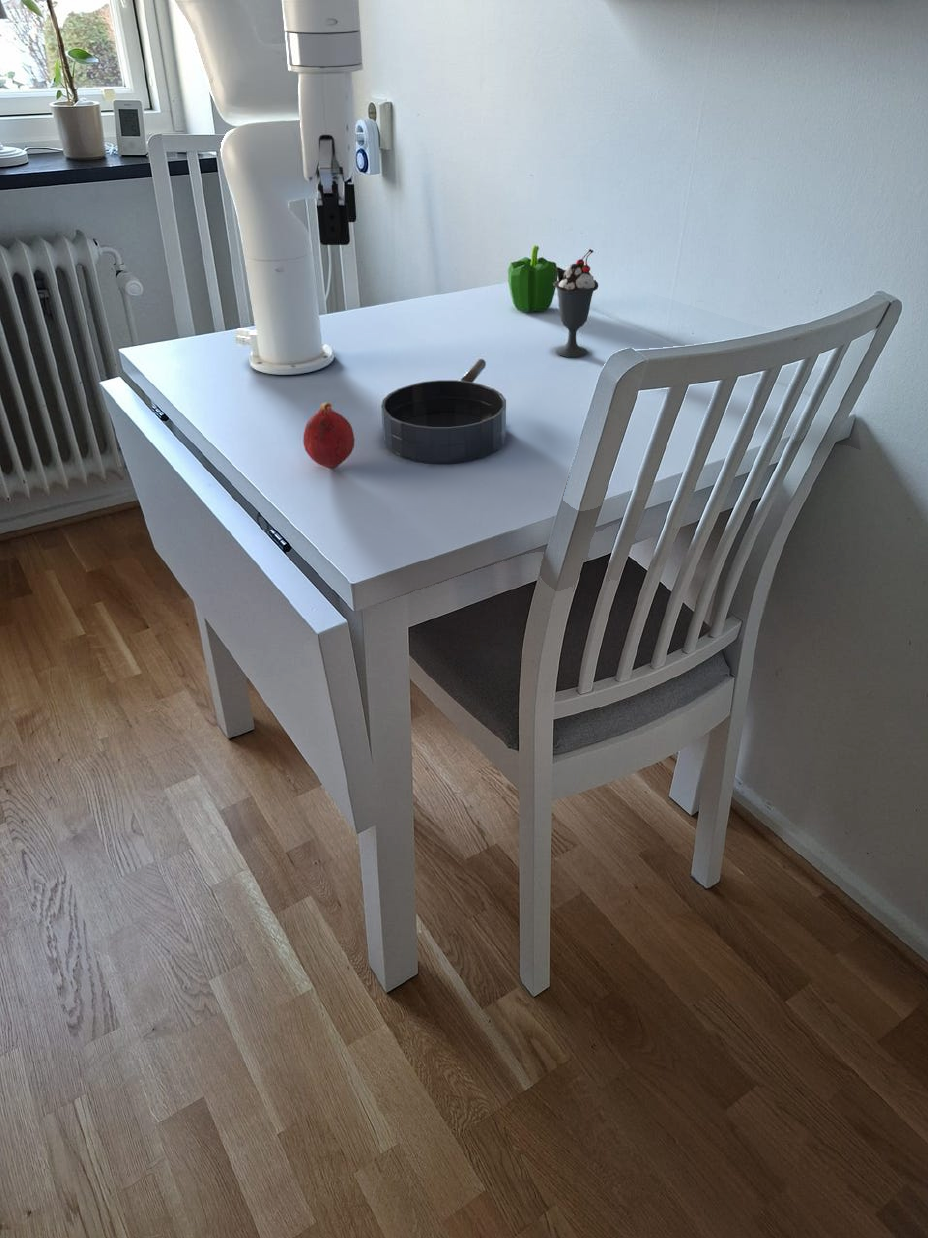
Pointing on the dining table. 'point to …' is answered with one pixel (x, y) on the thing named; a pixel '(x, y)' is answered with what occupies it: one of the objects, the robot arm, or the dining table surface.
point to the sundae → (574, 302)
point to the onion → (328, 437)
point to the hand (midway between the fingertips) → (339, 232)
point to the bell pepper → (532, 282)
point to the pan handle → (474, 371)
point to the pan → (444, 421)
